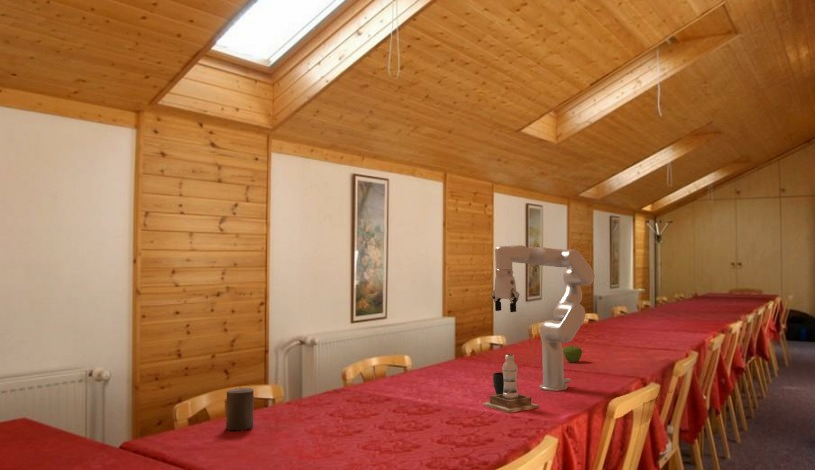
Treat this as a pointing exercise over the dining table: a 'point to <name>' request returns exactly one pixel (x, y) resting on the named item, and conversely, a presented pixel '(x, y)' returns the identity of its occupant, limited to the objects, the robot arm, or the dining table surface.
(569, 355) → the apple
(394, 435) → the dining table surface
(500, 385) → the mug
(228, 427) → the dark grey cylinder
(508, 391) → the plastic bottle
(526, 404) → the bottle stand
